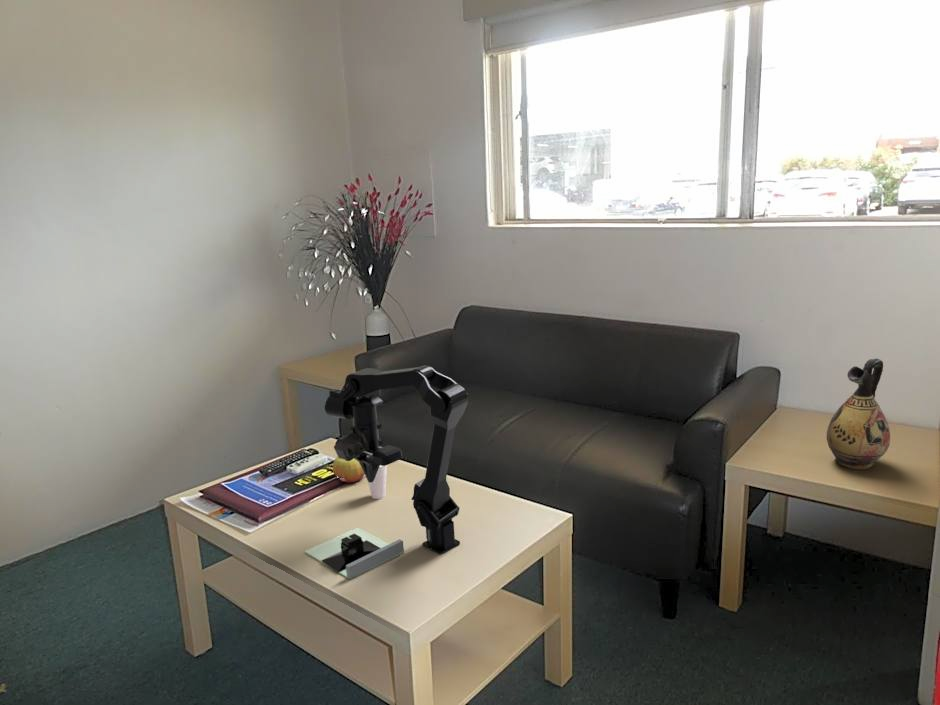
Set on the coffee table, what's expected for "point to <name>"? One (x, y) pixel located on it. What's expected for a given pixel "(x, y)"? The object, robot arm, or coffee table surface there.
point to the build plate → (350, 552)
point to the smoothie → (379, 483)
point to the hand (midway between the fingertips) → (370, 481)
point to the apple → (348, 469)
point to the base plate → (363, 563)
